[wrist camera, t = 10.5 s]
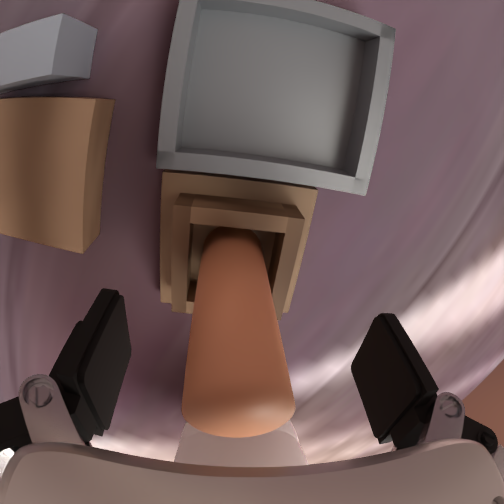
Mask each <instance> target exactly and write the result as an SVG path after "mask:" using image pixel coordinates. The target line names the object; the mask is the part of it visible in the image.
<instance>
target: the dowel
mask: <svg viewBox="0 0 504 504" xmlns="http://www.w3.org/2000/svg"><path fill="white" fill-rule="evenodd" d="M181 411H182V415H183V417H184V418H185V420H186V421H187V422H188V423H189V424H190V425H191V426H193V427H194V428H196V429H198V430H200V431H202V432H205V433H208V434H211V435H215V436H221V437H231V438H241V437H251V436H257V435H261V434H265V433H268V432H271V431H273V430H275V429H277V428H279V427H281V426H282V425H284V424H285V423H286V422H288V421H289V420H290V418H291V417H292V416H293V414H294V411H295V402H294V397H293V392H292V387H291V383H290V378H289V373H288V368H287V363H286V359H285V354H284V349H283V345H282V340H281V335H280V331H279V326H278V321H277V317H276V312H275V307H274V303H273V298H272V294H271V289H270V284H269V280H268V275H267V271H266V266H265V262H264V257H263V253H262V248H261V244H260V241H259V239H258V237H257V235H256V234H255V233H254V232H253V231H252V230H251V229H242V228H232V227H222V226H219V227H217V228H215V229H214V230H212V231H211V232H210V233H209V234H208V236H207V237H206V239H205V241H204V244H203V250H202V256H201V262H200V268H199V275H198V281H197V288H196V294H195V301H194V308H193V315H192V323H191V330H190V338H189V345H188V354H187V362H186V370H185V379H184V389H183V398H182V409H181Z"/></svg>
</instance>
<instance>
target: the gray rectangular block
mask: <svg viewBox="0 0 504 504" xmlns="http://www.w3.org/2000/svg"><path fill="white" fill-rule="evenodd" d="M97 31H98V29H96V28H94V27H92V26H90V25H88V24H86V23H84V22H81V21H79V20H77V19H75V18H73V17H71V16H68V15H66V14H64V13H62V14H58V15H54V16H50V17H47V18H43V19H40V20H37V21H34V22H30V23H27V24H24V25H21V26H19V27H16V28H13V29H11V30H8V31H5V32H3V33H0V94H2V93H6V92H10V91H14V90H19V89H23V88H28V87H33V86H38V85H44V84H50V83H57V82H64V81H71V80H80V79H89V78H90V71H91V64H92V58H93V52H94V46H95V41H96V36H97Z"/></svg>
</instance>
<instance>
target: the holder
mask: <svg viewBox="0 0 504 504" xmlns="http://www.w3.org/2000/svg"><path fill="white" fill-rule="evenodd" d="M317 193H318V190H317V189H316V188H315V187H314V186H308V185H302V184H295V183H289V182H282V181H275V180H268V179H260V178H252V177H244V176H236V175H227V174H217V173H207V172H196V171H185V170H172V169H165V170H164V171H163V172H162V190H161V215H160V293H161V302H164V303H172V312H180V313H190V314H193V308H194V301H195V294H196V288H197V281H198V275H199V268H200V262H201V256H202V250H203V244H204V241H205V239H206V237H207V236H208V234H209V233H210V232H211V231H212V230H214V229H215V228H217V227H219V226H222V227H232V228H242V229H251V230H252V231H253V232H254V233H255V234H256V235H257V237H258V239H259V241H260V244H261V248H262V253H263V257H264V262H265V266H266V271H267V275H268V280H269V284H270V289H271V294H272V298H273V303H274V307H275V312H276V317H277V320H281V316H282V313H283V312H285V313H288V310H289V307H290V303H291V299H292V296H293V292H294V288H295V284H296V281H297V277H298V273H299V269H300V265H301V261H302V257H303V253H304V249H305V245H306V241H307V237H308V233H309V228H310V224H311V220H312V216H313V211H314V207H315V202H316V198H317Z"/></svg>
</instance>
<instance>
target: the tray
mask: <svg viewBox="0 0 504 504" xmlns="http://www.w3.org/2000/svg"><path fill="white" fill-rule="evenodd" d="M395 31H396V29H395V28H393V27H390V26H388V25H386V24H383V23H381V22H378V21H376V20H373V19H371V18H368V17H365V16H363V15H360V14H357V13H354V12H351V11H348V10H345V9H342V8H339V7H336V6H333V5H329V4H326V3H322V2H318V1H315V0H180V1H179V6H178V10H177V15H176V19H175V24H174V29H173V34H172V40H171V45H170V51H169V57H168V63H167V69H166V76H165V83H164V91H163V98H162V107H161V116H160V126H159V136H158V148H157V162H156V168H158V169H172V170H185V171H196V172H207V173H217V174H227V175H236V176H244V177H252V178H260V179H268V180H275V181H282V182H289V183H295V184H302V185H308V186H314V187H320V188H326V189H332V190H337V191H343V192H348V193H354V194H359V195H364V196H366V192H367V188H368V184H369V180H370V176H371V172H372V168H373V164H374V159H375V155H376V150H377V146H378V141H379V136H380V131H381V126H382V121H383V116H384V110H385V105H386V99H387V93H388V87H389V80H390V73H391V66H392V58H393V50H394V41H395Z"/></svg>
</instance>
